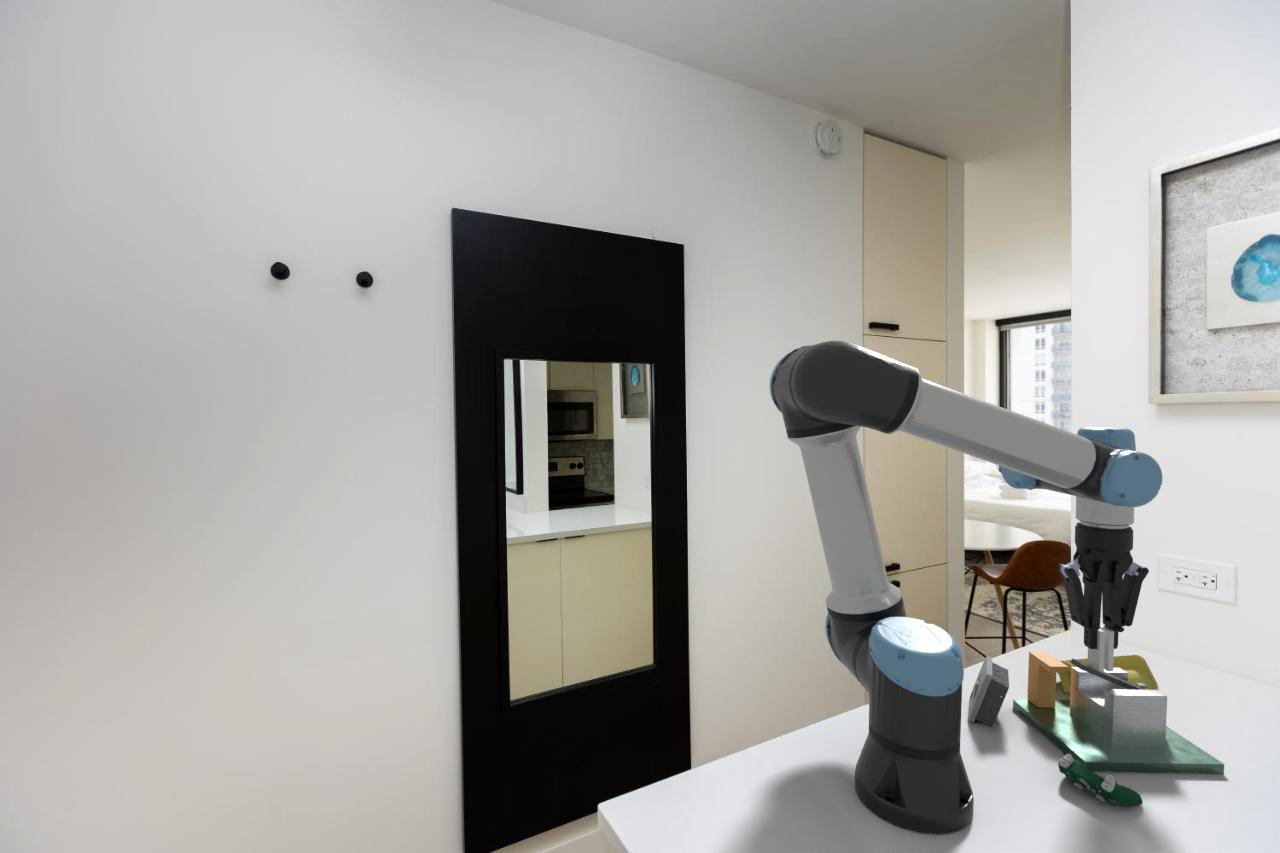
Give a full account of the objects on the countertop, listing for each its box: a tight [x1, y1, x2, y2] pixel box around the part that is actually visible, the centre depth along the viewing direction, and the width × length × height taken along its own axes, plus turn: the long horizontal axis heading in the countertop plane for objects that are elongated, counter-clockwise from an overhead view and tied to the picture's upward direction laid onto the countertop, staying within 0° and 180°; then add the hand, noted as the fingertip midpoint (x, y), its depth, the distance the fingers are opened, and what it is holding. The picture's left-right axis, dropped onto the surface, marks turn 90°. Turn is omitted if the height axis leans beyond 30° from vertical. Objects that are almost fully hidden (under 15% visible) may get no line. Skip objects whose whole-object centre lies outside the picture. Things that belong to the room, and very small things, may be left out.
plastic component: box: [1056, 654, 1160, 694], centre depth 119 cm, size 20×7×10 cm
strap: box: [1071, 658, 1148, 690], centre depth 102 cm, size 14×3×1 cm, turn 89°
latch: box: [1026, 651, 1068, 708], centre depth 108 cm, size 3×6×9 cm, turn 178°
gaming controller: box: [1057, 754, 1143, 807], centre depth 88 cm, size 9×4×6 cm
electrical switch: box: [967, 655, 1010, 727], centre depth 109 cm, size 9×5×9 cm, turn 151°
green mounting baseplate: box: [1012, 667, 1225, 775], centre depth 102 cm, size 20×19×10 cm
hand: (1100, 667), depth 102 cm, fingers closed
